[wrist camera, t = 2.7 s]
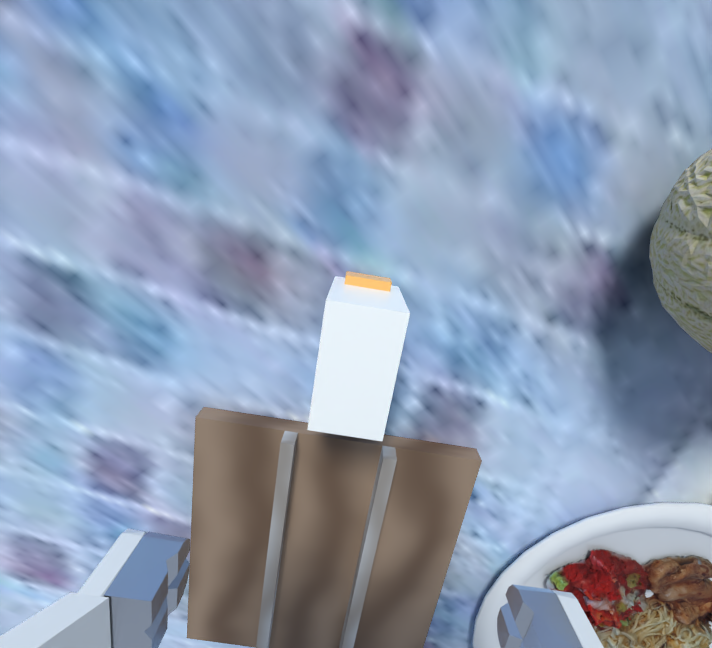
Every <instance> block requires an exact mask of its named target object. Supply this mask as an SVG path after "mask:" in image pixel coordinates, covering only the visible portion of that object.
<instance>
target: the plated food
mask: <svg viewBox="0 0 712 648" xmlns="http://www.w3.org/2000/svg"><path fill="white" fill-rule="evenodd" d="M512 584H513V585H521V586H529V587H536V588H544V589H549V590H556V591H563V592H570V593H572V594H573V595H574V596H575V597H576V598H577V600H578V602H579V603H580V605H581V607H582V609H583V611H584V613H585V614H586V616H587V618H588V620H589V622H590V623H591V625H592V627H593V629H594V631H595V633H596V634H597V636H598V638H599V640H600V642H601V643H602V645H603V647H604V648H712V505H708V504H703V503H686V502H658V503H650V504H643V505H635V506H628V507H622V508H618V509H615V510H611V511H608V512H604V513H601V514H597V515H594V516H590V517H587V518H585V519H582V520H580V521H578V522H576V523H574V524H571V525H569V526H567V527H565V528H562V529H560V530H558V531H556V532H554V533H552V534H550V535H549V536H547V537H546V538H544V539H543V540H541V541H540V542H538V543H537V544H535V545H534V546H532V547H531V548H529V549H527V550H526V551H524V552H523V553H522V554H521V555H520V556H519V557H518V558H517V559H516V560H515V561H514V562H513V563H512V564H510V565H509V566H508V567H507V568H506V569H505V570H504V571H503V572H502V573H501V574H500V576H499V577H498V578H497V580H496V581H495V583H494V584H493V585H492V587H491V588H490V590H489V591H488V592H487V594H486V595H485V597H484V599H483V602H482V604H481V607H480V609H479V611H478V614H477V616H476V618H475V625H474V632H473V639H472V643H473V648H501V647H500V644H499V639H498V633H497V617H498V614H499V611H500V607H502V606H503V605H505V604H506V603H508V600H507V598H506V595H505V594H506V592H507V590H508V587H510V586H511V585H512Z"/></svg>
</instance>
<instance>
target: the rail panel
mask: <svg viewBox="0 0 712 648" xmlns="http://www.w3.org/2000/svg"><path fill="white" fill-rule="evenodd" d="M307 429H308V423H305V422H298V421H292V420H285V419H279V418H272V417H266V416H259V415H253V414H246V413H240V412H233V411H227V410H220V409H214V408H207V407H203V409H202V410H201V411H200V412H199V414H198V415H197V416H196V420H195V445H194V471H193V496H192V522H191V547H190V573H189V598H188V623H187V638H190V639H197V640H205V641H212V642H220V643H227V644H235V645H242V646H249V647H256V648H423V646H424V643H425V640H426V637H427V633H428V630H429V627H430V624H431V621H432V617H433V614H434V611H435V608H436V605H437V601H438V598H439V595H440V592H441V589H442V586H443V582H444V579H445V576H446V573H447V570H448V566H449V563H450V560H451V557H452V554H453V551H454V547H455V544H456V541H457V538H458V535H459V531H460V528H461V525H462V522H463V519H464V515H465V512H466V509H467V506H468V503H469V500H470V496H471V493H472V490H473V487H474V484H475V480H476V477H477V474H478V471H479V468H480V464H481V461H482V460H481V458H480V456H479V454H478V452H477V450H476V449H474V448H468V447H461V446H455V445H448V444H442V443H435V442H429V441H422V440H416V439H409V438H403V437H396V436H390V435H384V437H383V441H376V440H370V439H363V438H356V437H350V436H343V435H337V434H330V433H324V432H317V431H310V430H307Z"/></svg>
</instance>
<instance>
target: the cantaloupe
mask: <svg viewBox="0 0 712 648" xmlns="http://www.w3.org/2000/svg"><path fill="white" fill-rule="evenodd" d="M649 259H650V261H651V267H652V270H653V284H654V286H655V289H656V292H657V293H658V297H659V299H660V301H661V304H662V306H663V308H664V309H665V310H666V311H667V312H668V313H669V314H670V315H671V316H672V318H673V319H674V320H675V321H676V322H677V324H678V325H679V326H680V327H681V328H682V329H683V330H684V331H685V332H686V333H687V334H688V335H689V336H690V337H692V338H693V339H694V340H695V341H696V342H698V343H699V344H700V345H701V346H702V347H704V348H705V349H706V350H708V351H709V352H710V353H712V149H711V150H709V151H708V152H706V153H705V154H703V155H701V156H700V157H699V158H698V159H697V160H695V161H694V162H693V163H692V164H691V165H690V166H689V168H687V169H685V171H684V172H683V174H682V175H681V177H680V178H679V179H678V181H677V182H676V184H675V185H674V186H673V188H672V190H671V192H670V194H669V196H668V198H667V199H666V201H665V202H664V204H663V206H662V208H661V212H660V215H659V218H658V219H657V221H656V223H655V225H654V228H653V231H652V235H651V239H650V254H649Z"/></svg>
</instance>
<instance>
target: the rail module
mask: <svg viewBox="0 0 712 648" xmlns="http://www.w3.org/2000/svg"><path fill="white" fill-rule="evenodd" d="M391 284H392V282H391V279H390V278H385V277H379V276H373V275H367V274H361V273H355V272H349V271H347V273H346V277H345V278H343V277H337V276H335V278H334V281H333V283H332V286H331V288H330V291H329V293H328V296H327V298H326V303H325V310H324V317H323V324H322V331H321V338H320V345H319V352H318V359H317V366H316V373H315V380H314V387H313V394H312V401H311V408H310V415H309V422H308V429H307V430H310V431H317V432H324V433H330V434H337V435H343V436H350V437H356V438H363V439H370V440H376V441H383V437H384V432H385V428H386V423H387V418H388V414H389V409H390V404H391V400H392V395H393V390H394V386H395V381H396V376H397V372H398V367H399V363H400V358H401V353H402V349H403V344H404V339H405V335H406V330H407V325H408V321H409V316H410V312H409V310H408V308H407V305H406V303H405V301H404V298H403V296H402V294H401V291H400V289H399V287H398V286H391Z"/></svg>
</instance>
